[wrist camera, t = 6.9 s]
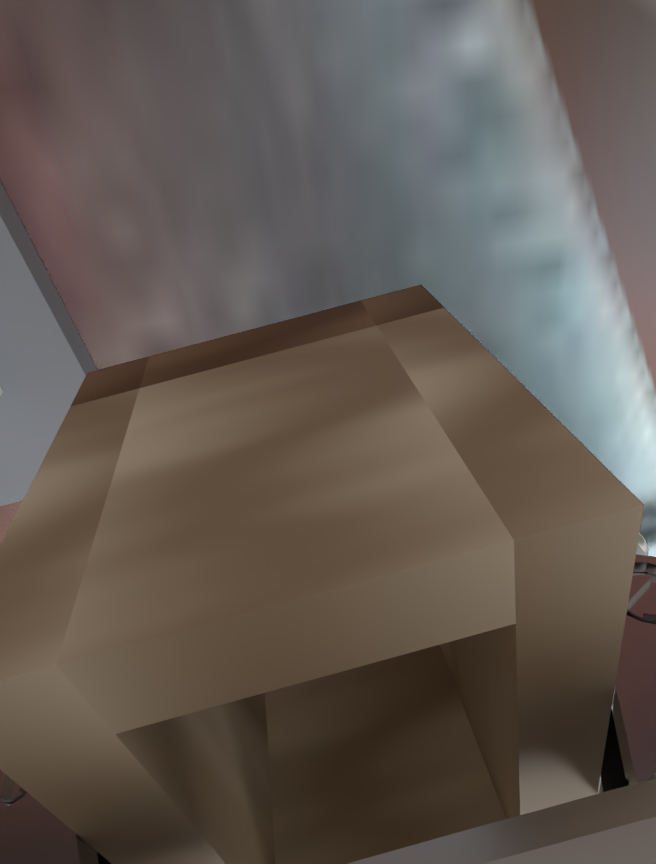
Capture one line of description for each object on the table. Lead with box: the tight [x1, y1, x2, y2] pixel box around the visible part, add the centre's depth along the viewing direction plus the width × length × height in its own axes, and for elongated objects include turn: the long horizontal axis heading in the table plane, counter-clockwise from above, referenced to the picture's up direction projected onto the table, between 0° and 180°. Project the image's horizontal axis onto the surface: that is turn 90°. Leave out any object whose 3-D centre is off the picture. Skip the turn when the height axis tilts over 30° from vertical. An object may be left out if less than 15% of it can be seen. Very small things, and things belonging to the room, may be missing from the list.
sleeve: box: [0, 285, 644, 864], centre depth 9 cm, size 6×8×6 cm
